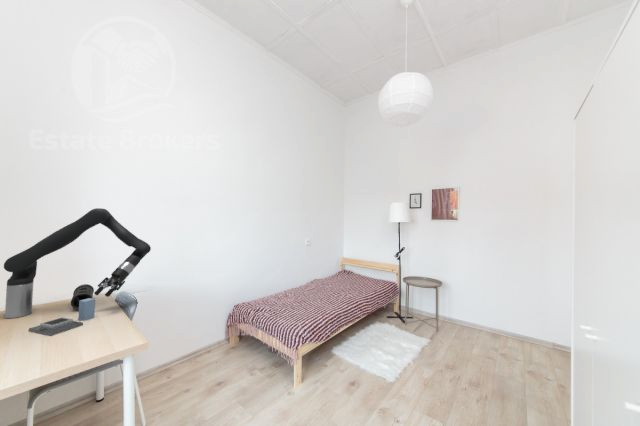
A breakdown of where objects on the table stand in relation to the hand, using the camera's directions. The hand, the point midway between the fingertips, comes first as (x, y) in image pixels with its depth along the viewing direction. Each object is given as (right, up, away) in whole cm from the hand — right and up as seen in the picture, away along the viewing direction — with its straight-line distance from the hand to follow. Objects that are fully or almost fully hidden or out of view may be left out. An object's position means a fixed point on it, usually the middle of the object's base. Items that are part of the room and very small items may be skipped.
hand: (100, 295), depth 135 cm
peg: (-2, -10, -7) cm, 12 cm away
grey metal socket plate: (-5, -10, -18) cm, 21 cm away
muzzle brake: (-25, -11, +15) cm, 31 cm away
